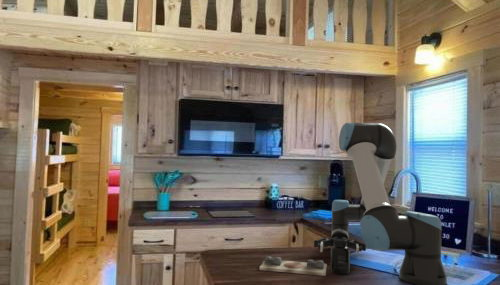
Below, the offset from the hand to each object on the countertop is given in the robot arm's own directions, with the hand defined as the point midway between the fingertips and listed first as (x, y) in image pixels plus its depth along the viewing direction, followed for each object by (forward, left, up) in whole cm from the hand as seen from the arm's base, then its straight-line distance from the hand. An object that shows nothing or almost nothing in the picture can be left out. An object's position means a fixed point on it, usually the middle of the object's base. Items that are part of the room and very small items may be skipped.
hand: (339, 250), depth 150 cm
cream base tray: (+17, +5, -7) cm, 19 cm away
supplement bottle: (0, +5, -7) cm, 9 cm away
